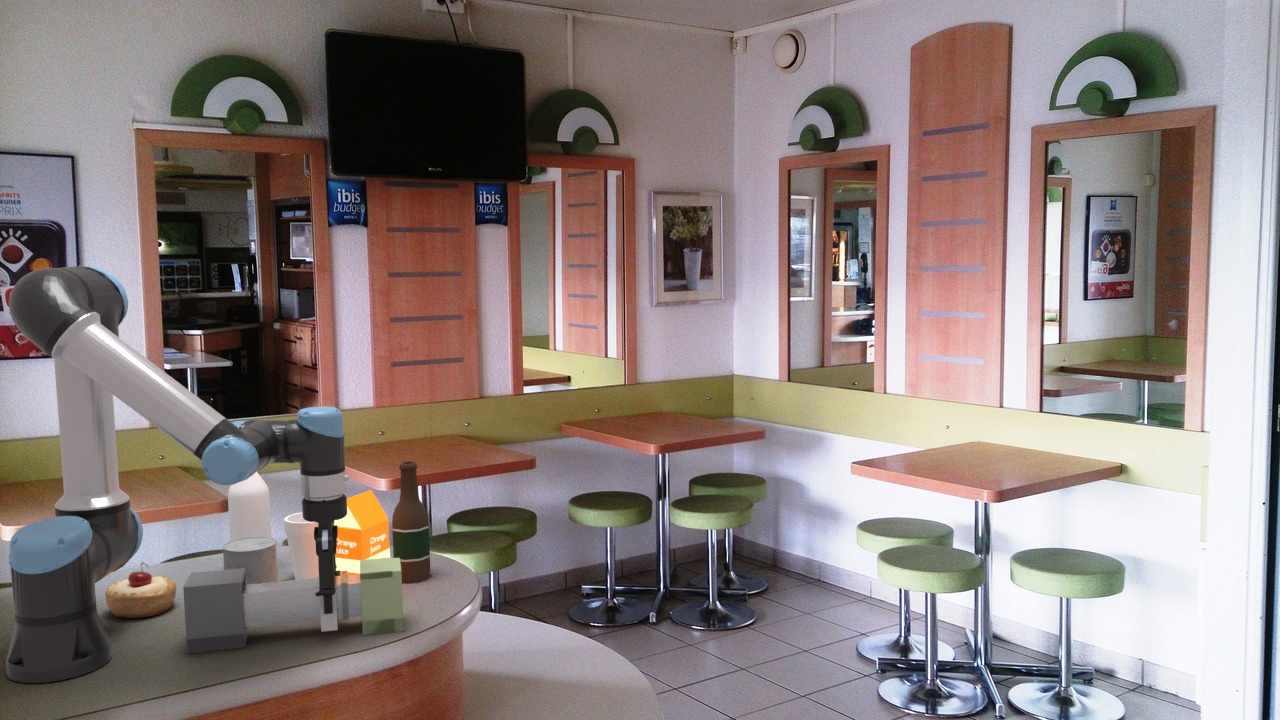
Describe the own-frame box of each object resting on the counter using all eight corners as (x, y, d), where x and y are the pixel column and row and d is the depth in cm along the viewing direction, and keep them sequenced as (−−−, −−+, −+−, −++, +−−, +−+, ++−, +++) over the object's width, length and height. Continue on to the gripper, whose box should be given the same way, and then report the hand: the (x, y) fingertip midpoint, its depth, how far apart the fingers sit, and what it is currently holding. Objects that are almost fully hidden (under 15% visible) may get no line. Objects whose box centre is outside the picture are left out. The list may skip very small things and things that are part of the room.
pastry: (98, 625, 190) (94, 577, 189) (116, 603, 201) (113, 558, 200) (169, 619, 192) (166, 572, 191) (183, 598, 204) (180, 553, 203)
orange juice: (331, 599, 201) (326, 498, 199) (359, 585, 210) (355, 488, 207) (365, 604, 199) (360, 501, 196) (392, 590, 207) (388, 491, 204)
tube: (237, 630, 178) (235, 592, 177) (241, 616, 185) (239, 580, 184) (388, 615, 184) (386, 579, 183) (387, 602, 191) (385, 567, 190)
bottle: (226, 579, 215) (217, 435, 211) (240, 566, 223) (232, 427, 219) (265, 578, 215) (257, 434, 211) (278, 566, 223) (271, 427, 219)
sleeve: (187, 653, 176) (183, 587, 174) (194, 636, 183) (190, 572, 182) (244, 647, 178) (240, 582, 177) (249, 631, 186) (245, 568, 184)
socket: (362, 635, 183) (360, 573, 182) (362, 619, 191) (359, 559, 189) (403, 631, 185) (401, 569, 183) (401, 615, 192) (399, 556, 191)
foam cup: (326, 586, 209) (323, 523, 208) (280, 586, 209) (277, 523, 208) (340, 571, 219) (338, 510, 217) (296, 571, 219) (293, 511, 217)
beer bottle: (401, 570, 219) (396, 458, 216) (436, 572, 218) (433, 458, 215) (387, 582, 211) (382, 466, 208) (424, 584, 210) (419, 467, 207)
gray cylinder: (262, 617, 192) (258, 552, 191) (215, 614, 194) (211, 549, 193) (289, 599, 202) (286, 537, 200) (244, 597, 204) (241, 535, 202)
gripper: (345, 508, 174) (351, 640, 176) (347, 481, 193) (352, 600, 196) (298, 511, 172) (305, 645, 174) (304, 484, 191) (310, 604, 194)
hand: (330, 621), depth 185 cm, fingers open, 8 cm apart
